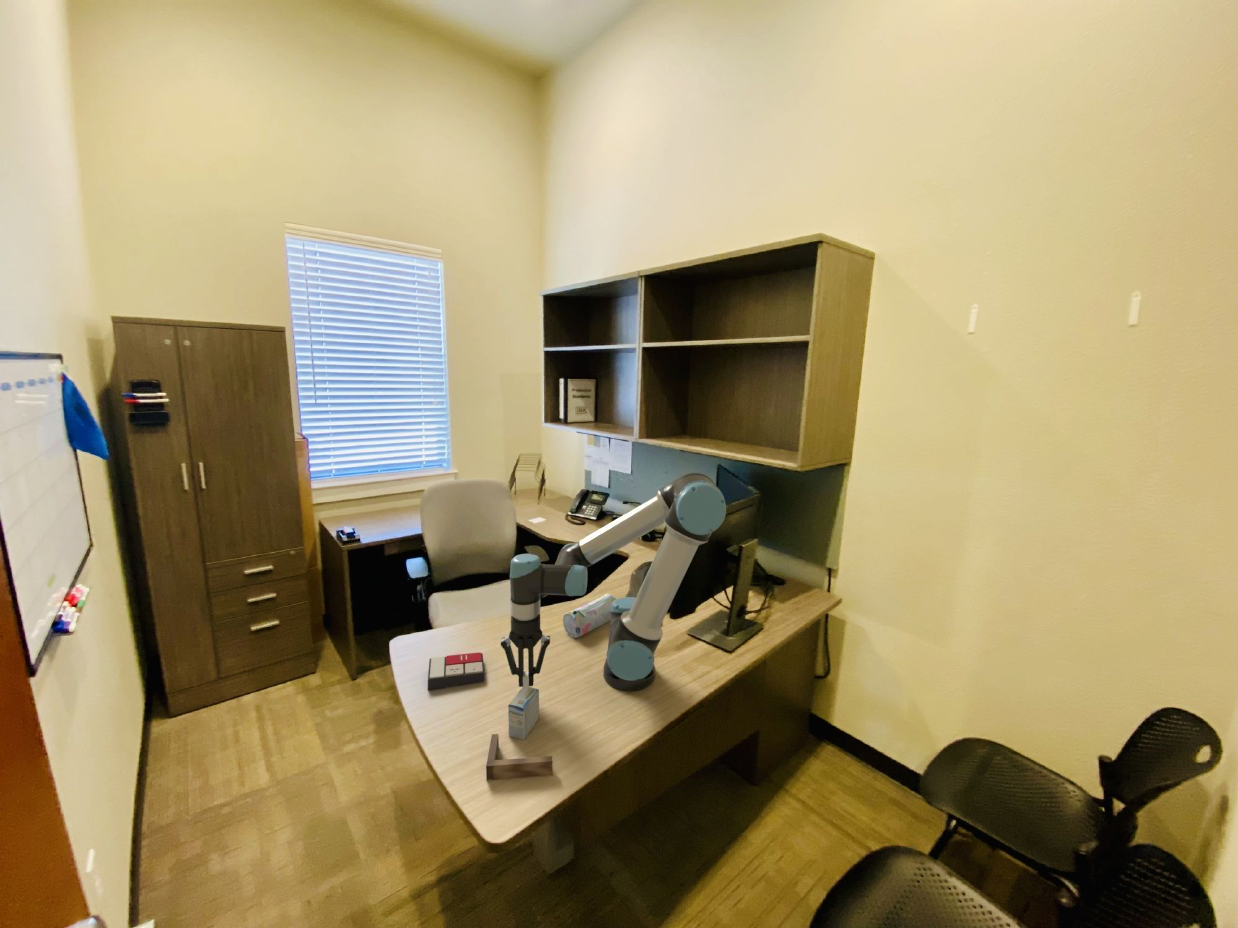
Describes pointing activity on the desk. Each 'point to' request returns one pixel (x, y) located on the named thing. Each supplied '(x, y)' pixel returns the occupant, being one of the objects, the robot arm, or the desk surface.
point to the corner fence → (515, 765)
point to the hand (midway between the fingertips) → (526, 696)
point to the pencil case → (588, 616)
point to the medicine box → (523, 712)
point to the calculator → (455, 670)
